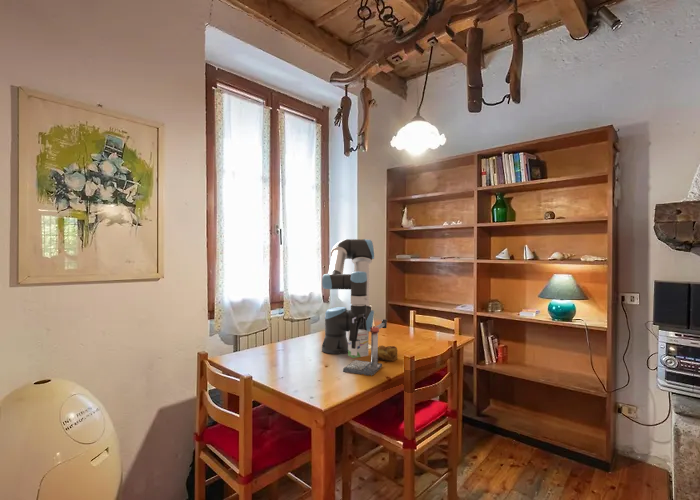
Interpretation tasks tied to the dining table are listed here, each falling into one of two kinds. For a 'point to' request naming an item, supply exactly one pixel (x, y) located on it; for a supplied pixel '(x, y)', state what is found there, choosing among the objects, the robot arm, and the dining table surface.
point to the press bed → (365, 366)
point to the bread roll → (387, 353)
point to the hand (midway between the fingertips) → (358, 352)
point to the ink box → (360, 344)
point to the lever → (379, 326)
